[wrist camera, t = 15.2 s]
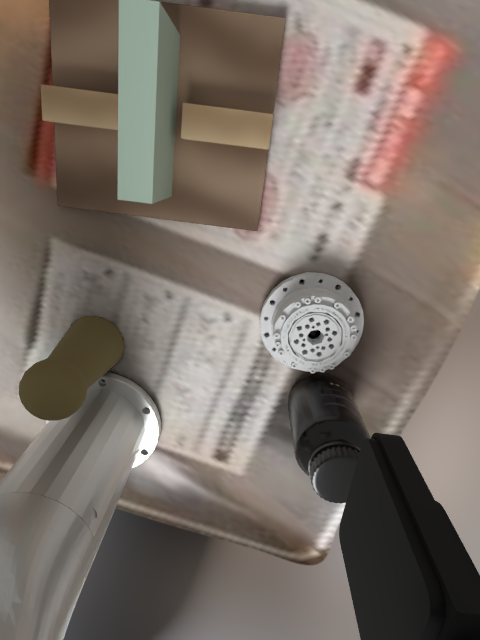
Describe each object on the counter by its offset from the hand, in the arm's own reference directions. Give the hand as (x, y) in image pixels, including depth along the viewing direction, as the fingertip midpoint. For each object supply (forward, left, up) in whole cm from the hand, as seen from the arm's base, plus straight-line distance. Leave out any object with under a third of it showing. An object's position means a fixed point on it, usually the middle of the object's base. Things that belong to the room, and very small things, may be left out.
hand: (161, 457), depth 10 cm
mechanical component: (-7, -8, -31) cm, 33 cm away
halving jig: (+9, +7, -30) cm, 32 cm away
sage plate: (+9, +7, -29) cm, 31 cm away
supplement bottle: (-16, -11, -31) cm, 36 cm away
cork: (-13, +13, -31) cm, 35 cm away
